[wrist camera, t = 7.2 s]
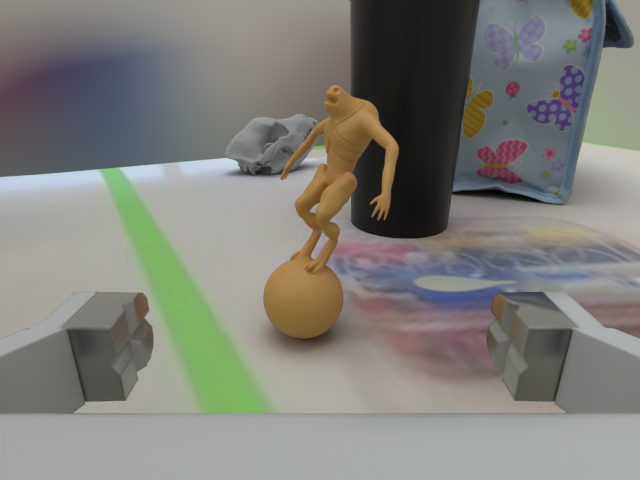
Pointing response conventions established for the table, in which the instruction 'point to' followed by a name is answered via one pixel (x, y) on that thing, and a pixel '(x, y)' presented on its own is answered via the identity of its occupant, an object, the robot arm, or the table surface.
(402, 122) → the water bottle
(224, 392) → the table surface
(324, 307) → the figurine
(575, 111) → the lunch bag
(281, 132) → the skull
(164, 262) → the table surface
